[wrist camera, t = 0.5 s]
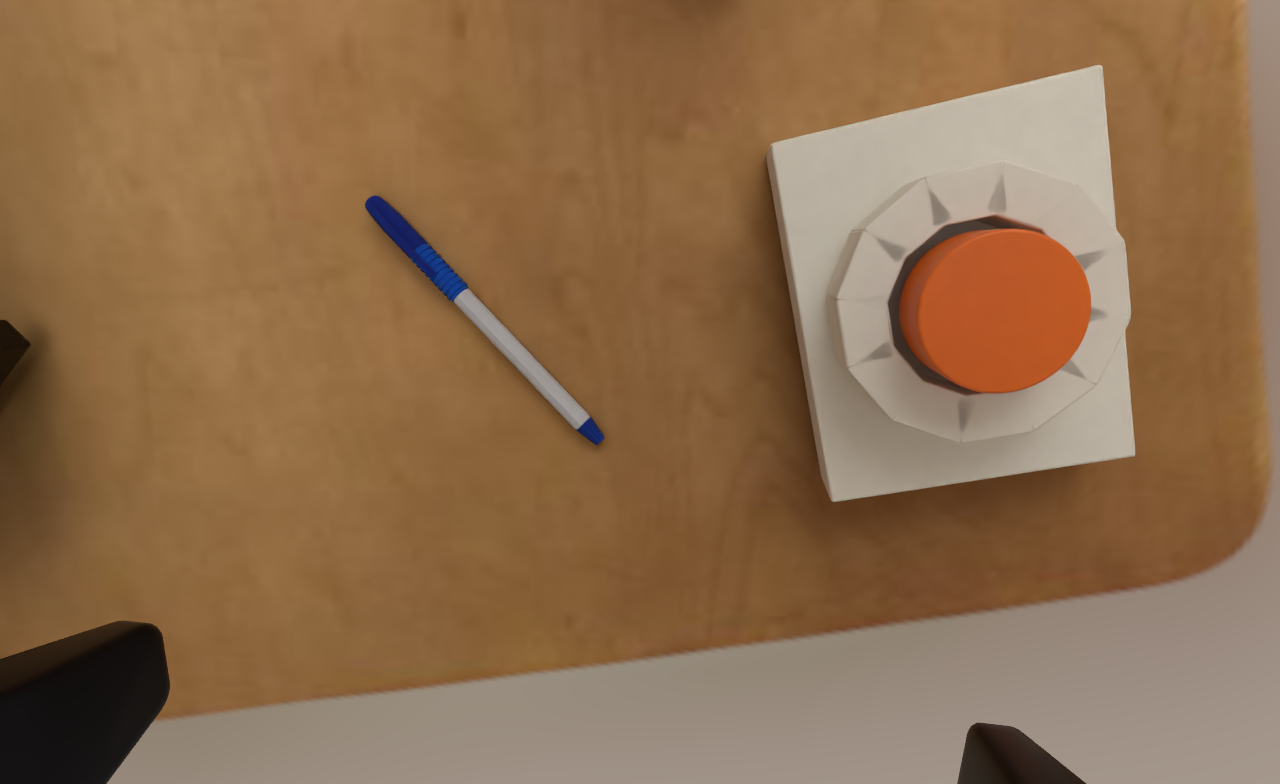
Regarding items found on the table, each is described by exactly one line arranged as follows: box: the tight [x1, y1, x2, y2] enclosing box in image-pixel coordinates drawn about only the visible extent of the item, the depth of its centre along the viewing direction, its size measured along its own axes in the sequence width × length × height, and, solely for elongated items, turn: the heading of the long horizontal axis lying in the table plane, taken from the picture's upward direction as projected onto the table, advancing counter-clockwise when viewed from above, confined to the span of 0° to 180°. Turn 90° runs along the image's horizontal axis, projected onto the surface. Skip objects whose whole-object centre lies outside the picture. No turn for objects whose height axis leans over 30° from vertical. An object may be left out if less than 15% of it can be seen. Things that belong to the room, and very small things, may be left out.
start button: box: [899, 229, 1091, 394], centre depth 16 cm, size 4×4×2 cm
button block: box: [766, 65, 1135, 502], centre depth 18 cm, size 10×8×4 cm
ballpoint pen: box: [365, 196, 605, 445], centre depth 22 cm, size 10×1×1 cm, turn 45°
